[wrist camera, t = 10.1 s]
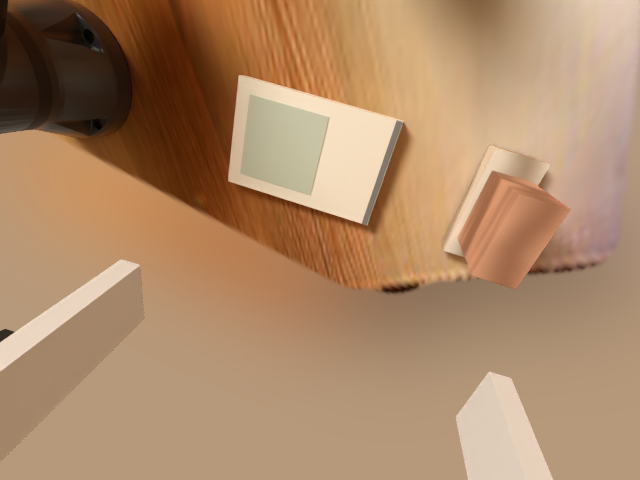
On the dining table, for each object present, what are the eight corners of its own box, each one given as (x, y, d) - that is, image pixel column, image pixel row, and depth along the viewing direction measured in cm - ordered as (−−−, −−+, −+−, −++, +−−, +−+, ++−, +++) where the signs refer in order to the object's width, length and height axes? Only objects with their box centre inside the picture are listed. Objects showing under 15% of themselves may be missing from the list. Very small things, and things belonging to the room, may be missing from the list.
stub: (441, 243, 38) (454, 289, 29) (489, 145, 33) (524, 167, 24) (485, 257, 38) (512, 308, 29) (542, 160, 32) (596, 188, 23)
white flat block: (235, 177, 41) (227, 181, 39) (246, 75, 35) (238, 75, 33) (368, 219, 39) (367, 225, 37) (403, 120, 34) (403, 122, 32)
